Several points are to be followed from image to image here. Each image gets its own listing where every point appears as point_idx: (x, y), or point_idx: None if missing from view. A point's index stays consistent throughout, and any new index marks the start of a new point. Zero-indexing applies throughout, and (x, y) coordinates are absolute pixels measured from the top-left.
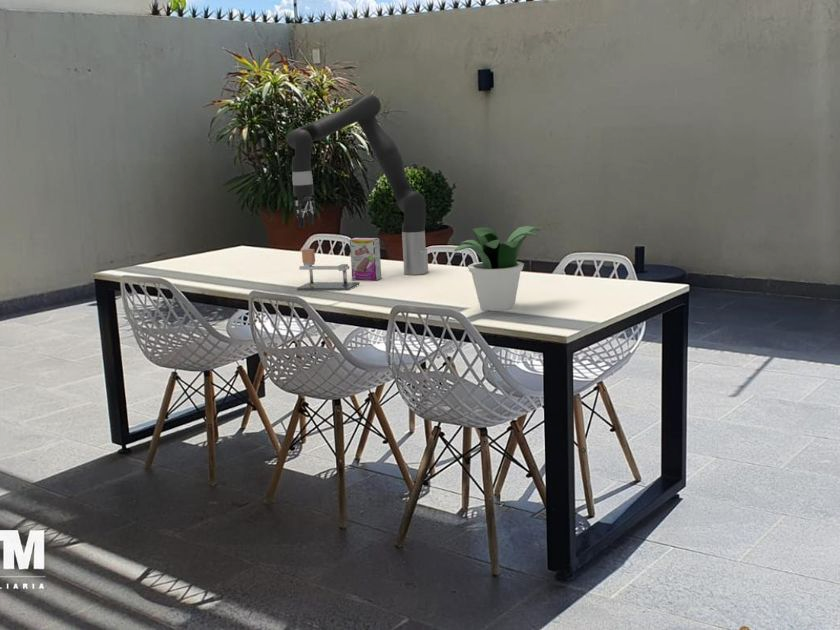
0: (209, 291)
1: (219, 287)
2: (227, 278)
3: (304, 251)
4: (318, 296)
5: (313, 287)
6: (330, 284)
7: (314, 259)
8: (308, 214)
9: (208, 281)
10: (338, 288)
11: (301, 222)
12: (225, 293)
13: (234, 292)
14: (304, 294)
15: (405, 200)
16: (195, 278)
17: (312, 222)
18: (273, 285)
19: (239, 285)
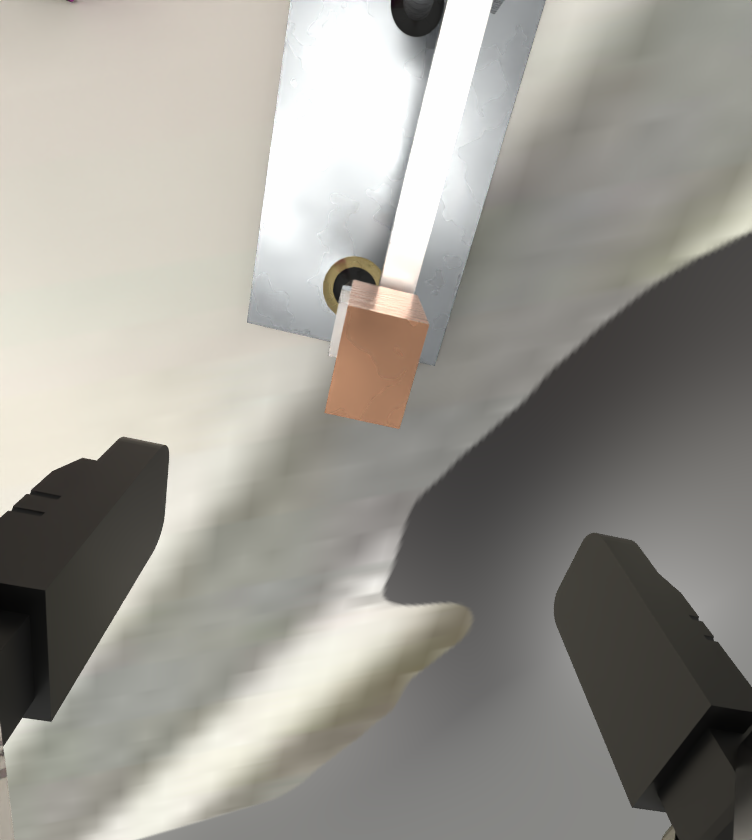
0: (358, 719)
1: (268, 707)
2: (43, 725)
3: (406, 395)
4: (697, 182)
5: (455, 260)
6: (367, 148)
7: (364, 286)
8: (14, 712)
9: (119, 767)
10: (529, 52)
11: (710, 641)
12: (423, 660)
13: (408, 634)
14: (586, 291)
15: None
16: (48, 814)
17: (148, 466)
18: (248, 513)
19: (228, 651)
